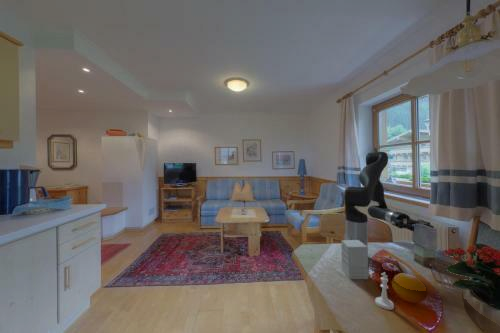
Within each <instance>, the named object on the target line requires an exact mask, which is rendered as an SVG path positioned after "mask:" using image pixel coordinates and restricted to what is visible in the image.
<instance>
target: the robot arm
mask: <svg viewBox="0 0 500 333" xmlns="http://www.w3.org/2000/svg"><path fill="white" fill-rule="evenodd" d="M388 161H389V155H388V154H387V153H386V152H385V151H374V152H368V153H367V154H366V155H365V165H366V166H364V167H363V168H362V169H361V171H360V173H359V175H358V180H359V183H360V184H361V186H351V185H350V186H349V185H348V186H346V187H345V190H344V195H343V196H344V197H343V198H344V214H345V233H344V234H343V240H359V241H360V242H362V243H363V244H364V245H366V246H367V247H368V248H369V246H368V244H369V243H368V242H369V241H368V240H369V238H368V237H369V236H368V233H369V232H368V231H369V230H368V216H367V214H366V213H364V212H362V211H360V210H359V209H357V208H356V207H359V208H360V207H361V208H367V207H368V208H367V213H368V215H369V216H370V217H371V218H372V219H376V220H382V221H385V222H387V223H389V224H390V225H392V226H394V227H396V228H398V229H407V230H409V231H410V232H412V231H414V226H412V224H423V225H426V226H429V227H432V228H435V226H434V225H432V224H431V222H429V221H425V220H422V219H415V218H411V217H410V216H409V215H408V214H406V213H404V212H401V211H398V210H394V209H390V208H388V206H387V203H386V200H385V188H384V185H383V183H382V182H381V181H380V178H381V175H382V173H383V171H384V170H385V168H386V167H387V165H388V163H389V162H388ZM372 202H376V203H377V204H378V205H370V204H371V203H372Z"/></svg>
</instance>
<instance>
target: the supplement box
mask: <svg viewBox="0 0 500 333" xmlns="http://www.w3.org/2000/svg"><path fill="white" fill-rule="evenodd" d="M340 243H341V270H342V271H343V273H344V274H345V276H346V277H347V278H348V279H349V280H369V246H368V247H367V246H366V245H364V244H363V243H362V242H360V241H359V240H344V239H342V240H341V241H340Z"/></svg>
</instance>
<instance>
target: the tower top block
mask: <svg viewBox="0 0 500 333" xmlns="http://www.w3.org/2000/svg"><path fill="white" fill-rule="evenodd" d="M414 253H416V254H418V255H420V256H422V257H431V258H435V259H436V249H426V248H424V247H422V246H419V245H417V244H415V243H413V254H414Z"/></svg>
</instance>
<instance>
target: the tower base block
mask: <svg viewBox="0 0 500 333" xmlns="http://www.w3.org/2000/svg"><path fill="white" fill-rule="evenodd" d="M413 261H414V262H415V263H417V264H418V265H420V266H422V267H428V268H429V267H430V264H431V265H432V266H435V267H436V257H435V258H431V257H422V256H420V255H418V254H416V253H414V252H413ZM430 268H431V267H430Z"/></svg>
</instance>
